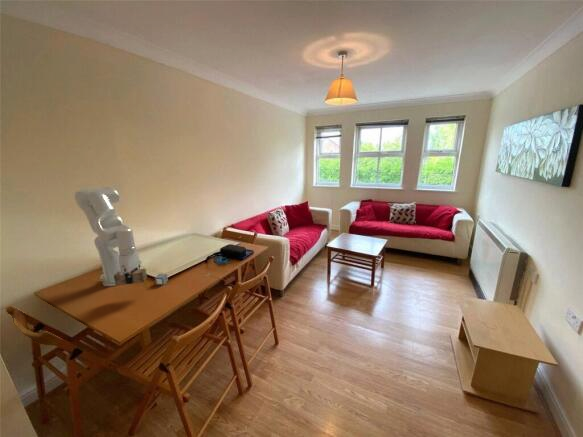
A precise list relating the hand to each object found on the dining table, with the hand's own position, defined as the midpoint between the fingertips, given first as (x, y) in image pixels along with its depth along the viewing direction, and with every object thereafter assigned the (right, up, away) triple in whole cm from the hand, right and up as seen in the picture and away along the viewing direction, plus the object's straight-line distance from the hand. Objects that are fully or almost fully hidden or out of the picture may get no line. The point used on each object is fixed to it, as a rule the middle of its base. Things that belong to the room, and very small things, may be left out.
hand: (133, 280), depth 134 cm
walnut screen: (-1, -1, 0) cm, 1 cm away
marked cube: (+7, -6, +16) cm, 19 cm away
